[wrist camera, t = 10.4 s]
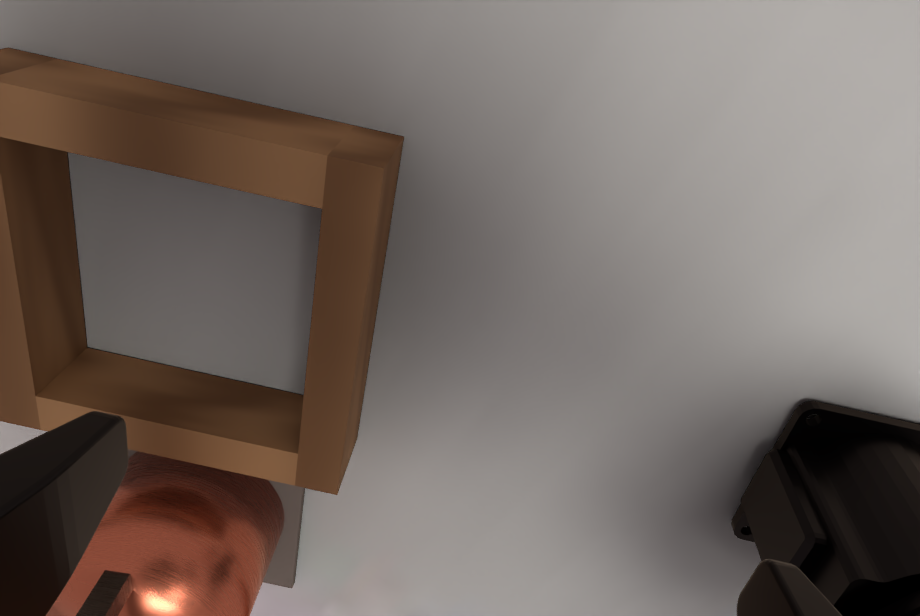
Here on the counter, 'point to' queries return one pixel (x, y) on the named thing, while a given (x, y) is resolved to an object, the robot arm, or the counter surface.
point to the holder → (206, 160)
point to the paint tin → (177, 544)
